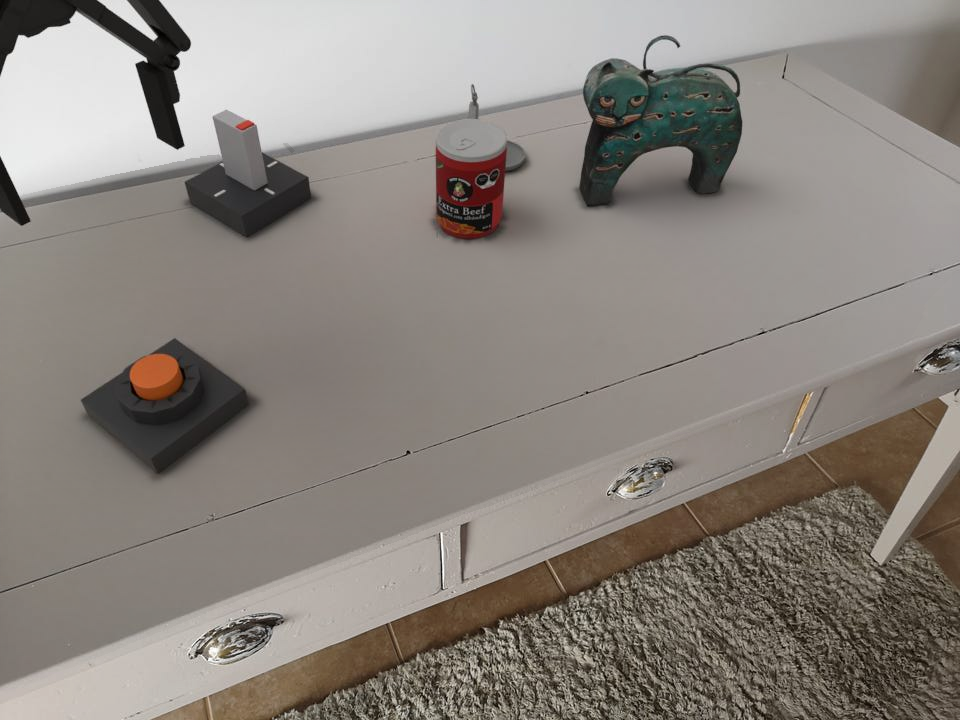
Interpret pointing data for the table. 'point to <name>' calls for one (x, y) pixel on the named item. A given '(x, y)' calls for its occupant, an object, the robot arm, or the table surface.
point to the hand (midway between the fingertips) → (98, 177)
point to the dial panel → (248, 196)
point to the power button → (156, 377)
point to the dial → (240, 149)
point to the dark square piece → (167, 409)
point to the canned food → (470, 177)
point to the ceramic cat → (657, 121)
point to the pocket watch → (513, 149)
